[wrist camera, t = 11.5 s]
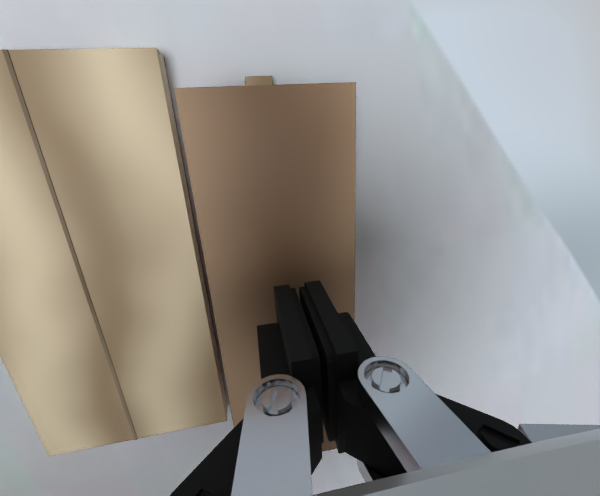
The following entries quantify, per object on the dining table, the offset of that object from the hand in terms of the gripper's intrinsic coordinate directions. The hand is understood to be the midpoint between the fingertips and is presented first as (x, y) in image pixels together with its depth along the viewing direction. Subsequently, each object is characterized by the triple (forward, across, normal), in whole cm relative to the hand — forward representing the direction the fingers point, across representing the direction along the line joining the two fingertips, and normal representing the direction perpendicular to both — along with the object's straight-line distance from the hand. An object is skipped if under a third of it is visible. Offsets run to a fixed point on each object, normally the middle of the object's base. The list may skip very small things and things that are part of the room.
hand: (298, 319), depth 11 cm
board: (+7, +7, 0) cm, 10 cm away
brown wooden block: (+7, 0, 0) cm, 7 cm away
